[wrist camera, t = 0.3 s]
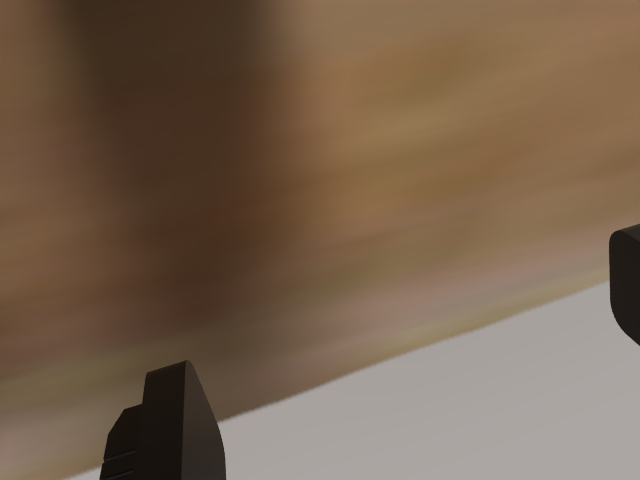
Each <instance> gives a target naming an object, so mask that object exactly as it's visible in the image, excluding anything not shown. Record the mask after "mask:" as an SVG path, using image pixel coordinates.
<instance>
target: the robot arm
mask: <svg viewBox="0 0 640 480" xmlns="http://www.w3.org/2000/svg"><path fill="white" fill-rule="evenodd" d="M609 264H610V303H611V308H612V312H613V314H614V317H615V319H616V321H617V323H618V325H619V326H620V327H621V329H622V330H623V331H624V332H625V333H626V334H627V335H628V336H629V337H630V338H631V339H632V340H634V341H635V342H636V343H637V344H638V345H639V346H640V224H637V225H634V226H631V227H628V228H624V229H621V230H618V231H615V232H614V233H613V234H612V235H611V237H610V241H609ZM103 459H104V463H103V464H102V469H101V474H100V480H226V467H225V453H224V447H223V442H222V438H221V434H220V431H219V427H218V425H217V422H216V420H215V417H214V415H213V412H212V410H211V407H210V405H209V403H208V400H207V398H206V395H205V393H204V391H203V388H202V386H201V383H200V381H199V378H198V376H197V374H196V371H195V369H194V367H193V365H192V363H191V362H190V361H189V360H187V361H183V362H180V363H177V364H173V365H170V366H167V367H164V368H160V369H157V370H154V371H150V372H148V373H147V375H146V378H145V386H144V393H143V401H142V404H140V405H137V406H134V407H130V408H127V409H124V411H123V412H122V414H121V415H120V417H119V418H118V420H117V421H116V423H115V424H114V426H113V428H112V429H111V431H110V432H109V434H108V438H107V443H106V448H105V453H104V458H103Z"/></svg>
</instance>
